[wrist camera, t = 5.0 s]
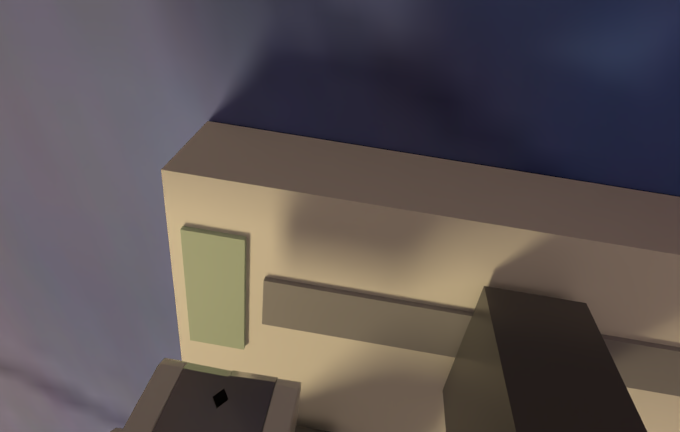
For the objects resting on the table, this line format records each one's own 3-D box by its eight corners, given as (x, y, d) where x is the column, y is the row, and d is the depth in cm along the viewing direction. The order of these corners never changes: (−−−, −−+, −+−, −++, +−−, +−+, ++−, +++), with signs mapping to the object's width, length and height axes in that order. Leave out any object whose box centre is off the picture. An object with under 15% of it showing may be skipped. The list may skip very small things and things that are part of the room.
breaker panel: (619, 483, 20) (652, 568, 18) (219, 411, 21) (193, 483, 18) (856, 225, 12) (977, 308, 10) (207, 121, 13) (157, 172, 10)
